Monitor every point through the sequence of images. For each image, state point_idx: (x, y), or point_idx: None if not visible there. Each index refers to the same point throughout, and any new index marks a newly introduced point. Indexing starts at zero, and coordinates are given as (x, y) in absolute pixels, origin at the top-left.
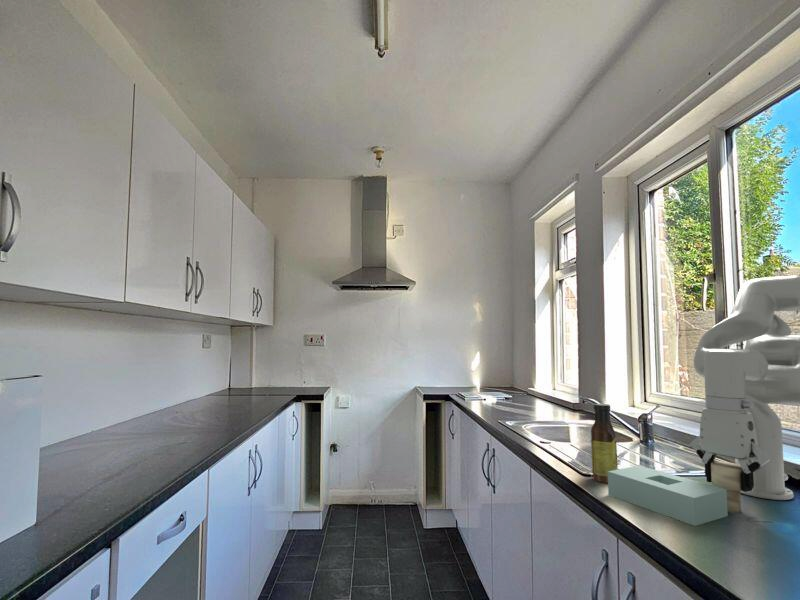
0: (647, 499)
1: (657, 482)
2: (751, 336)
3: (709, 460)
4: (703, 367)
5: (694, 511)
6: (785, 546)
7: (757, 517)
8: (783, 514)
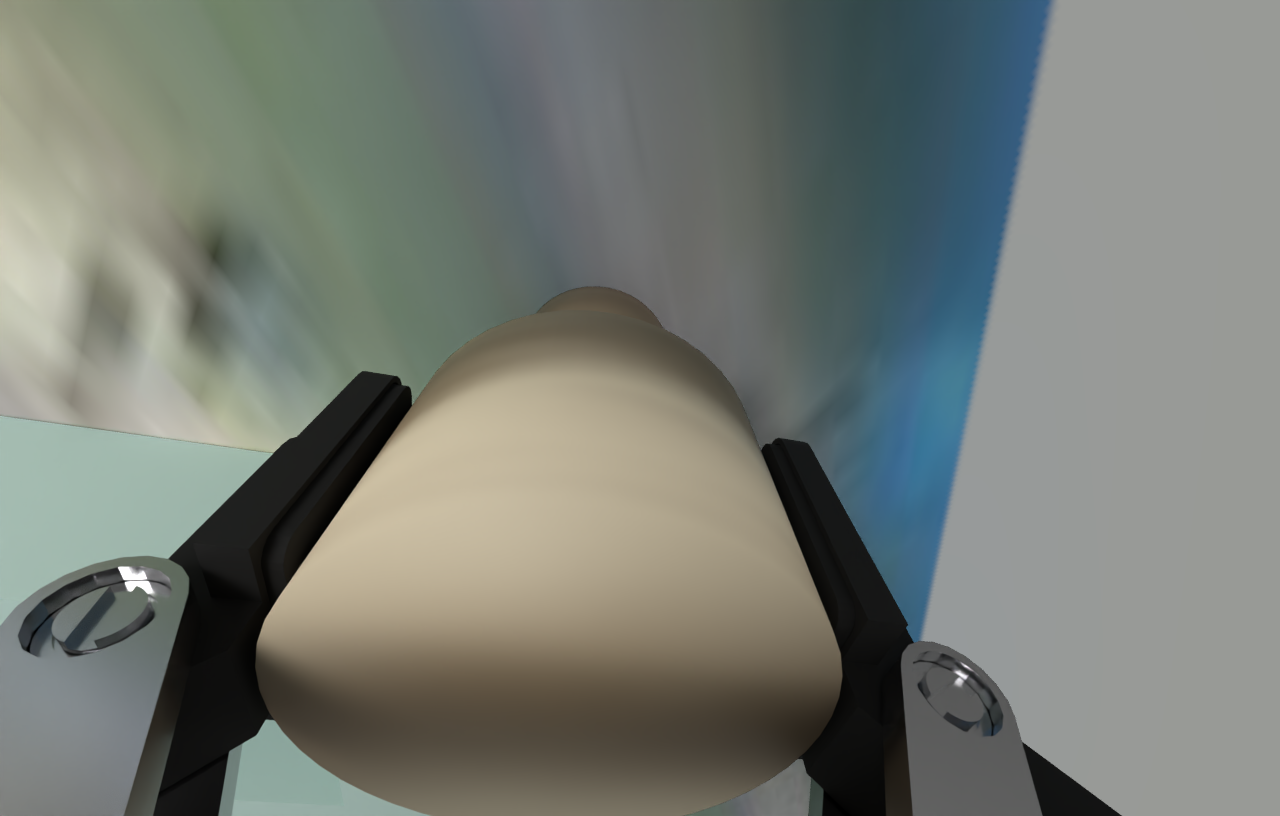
0: None
1: (272, 809)
2: None
3: (220, 751)
4: None
5: None
6: None
7: (775, 382)
8: (956, 109)
